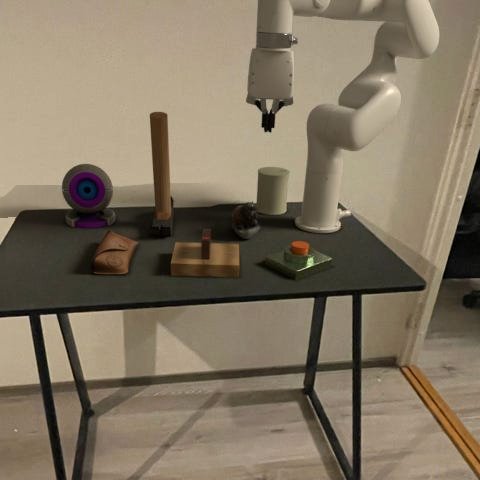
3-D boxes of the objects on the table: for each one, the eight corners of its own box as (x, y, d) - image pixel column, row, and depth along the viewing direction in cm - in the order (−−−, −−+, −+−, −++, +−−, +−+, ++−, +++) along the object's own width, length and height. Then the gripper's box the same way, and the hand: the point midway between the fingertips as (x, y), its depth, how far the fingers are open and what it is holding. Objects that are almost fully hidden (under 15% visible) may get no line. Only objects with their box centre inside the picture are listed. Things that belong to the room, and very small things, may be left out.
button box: (300, 252, 132) (301, 237, 130) (331, 266, 126) (333, 251, 123) (264, 264, 125) (266, 248, 123) (295, 280, 119) (297, 263, 117)
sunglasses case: (129, 273, 117) (111, 248, 114) (103, 287, 119) (85, 263, 115) (139, 241, 133) (124, 219, 129) (116, 254, 134) (100, 232, 131)
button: (299, 246, 126) (300, 239, 125) (311, 252, 123) (312, 245, 122) (287, 250, 123) (288, 243, 123) (299, 256, 121) (300, 249, 120)
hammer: (171, 247, 137) (167, 132, 117) (151, 247, 137) (143, 131, 117) (174, 207, 152) (171, 100, 132) (157, 207, 152) (150, 99, 132)
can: (290, 214, 156) (293, 173, 149) (259, 215, 154) (261, 173, 148) (282, 204, 163) (285, 164, 157) (252, 205, 162) (254, 165, 156)
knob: (203, 246, 125) (203, 227, 123) (210, 247, 125) (210, 227, 123) (201, 259, 119) (201, 239, 116) (209, 259, 119) (209, 239, 117)
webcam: (65, 229, 139) (57, 171, 131) (66, 213, 149) (59, 158, 142) (116, 227, 142) (111, 170, 134) (114, 211, 152) (110, 157, 145)
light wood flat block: (238, 255, 129) (238, 243, 127) (238, 277, 119) (239, 264, 117) (175, 253, 128) (175, 241, 127) (171, 275, 118) (170, 262, 116)
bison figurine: (227, 226, 145) (228, 190, 140) (252, 225, 147) (254, 189, 141) (236, 243, 135) (238, 205, 130) (263, 242, 137) (266, 204, 131)
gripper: (305, 42, 118) (297, 129, 128) (238, 39, 118) (235, 126, 127) (310, 45, 112) (301, 136, 121) (238, 42, 111) (235, 133, 121)
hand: (267, 131), depth 124 cm, fingers closed
